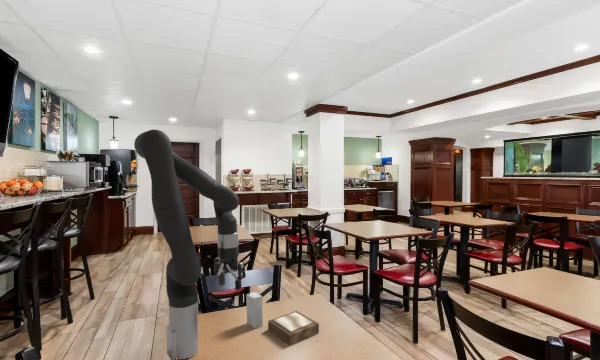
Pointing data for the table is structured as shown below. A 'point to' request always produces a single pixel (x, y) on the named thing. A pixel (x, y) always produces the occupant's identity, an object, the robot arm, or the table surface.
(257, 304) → the skincare box
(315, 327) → the walnut stand
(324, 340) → the table surface
